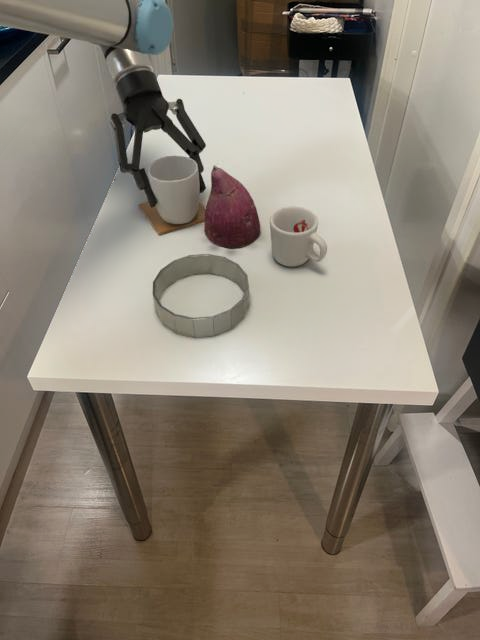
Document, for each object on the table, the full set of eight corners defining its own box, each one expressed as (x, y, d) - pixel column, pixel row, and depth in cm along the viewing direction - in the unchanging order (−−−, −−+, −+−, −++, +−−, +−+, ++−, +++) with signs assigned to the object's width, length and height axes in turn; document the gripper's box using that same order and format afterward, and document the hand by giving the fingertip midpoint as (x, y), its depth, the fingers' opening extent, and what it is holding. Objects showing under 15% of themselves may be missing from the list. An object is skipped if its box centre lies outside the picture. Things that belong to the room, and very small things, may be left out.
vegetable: (204, 258, 92) (174, 195, 81) (215, 220, 98) (188, 156, 87) (258, 253, 89) (234, 187, 78) (266, 214, 95) (244, 147, 84)
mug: (203, 227, 93) (199, 179, 85) (155, 231, 92) (147, 183, 85) (199, 189, 101) (195, 143, 94) (155, 193, 101) (148, 147, 93)
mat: (159, 235, 92) (158, 233, 92) (138, 206, 99) (138, 203, 98) (212, 218, 95) (212, 216, 95) (189, 191, 102) (188, 189, 102)
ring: (178, 350, 73) (175, 332, 70) (142, 290, 82) (138, 272, 79) (265, 315, 77) (266, 297, 75) (222, 262, 86) (221, 244, 84)
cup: (336, 263, 86) (342, 225, 80) (307, 286, 82) (312, 248, 76) (287, 237, 91) (290, 200, 85) (259, 258, 87) (259, 220, 81)
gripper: (185, 77, 97) (225, 188, 98) (75, 101, 90) (120, 219, 92) (194, 56, 90) (237, 176, 91) (75, 80, 83) (124, 209, 84)
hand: (178, 197), depth 91 cm, fingers closed on mug, 9 cm apart
